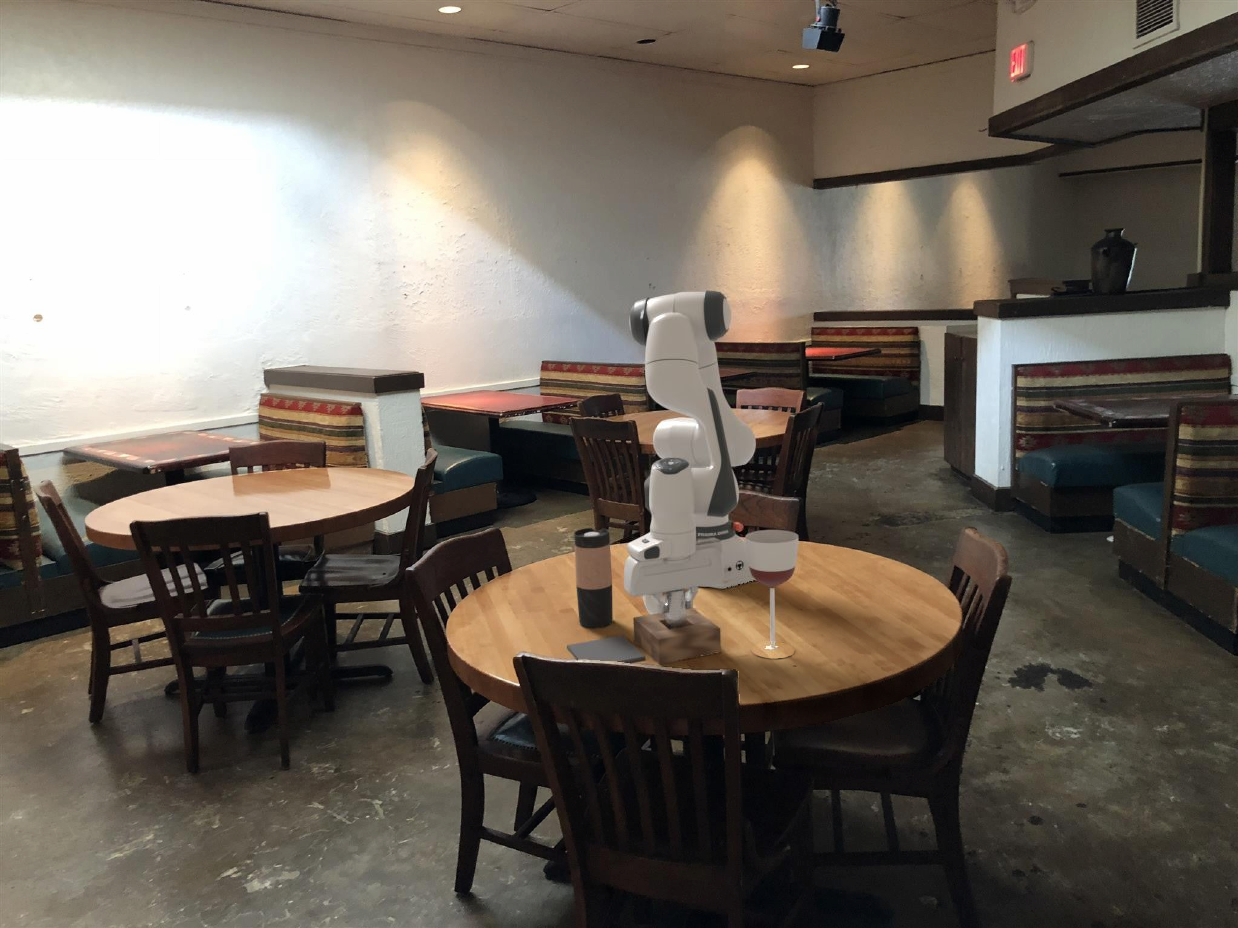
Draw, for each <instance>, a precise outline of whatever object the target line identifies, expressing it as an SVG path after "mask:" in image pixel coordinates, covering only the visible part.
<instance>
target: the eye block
mask: <svg viewBox="0 0 1238 928" xmlns="http://www.w3.org/2000/svg"><path fill="white" fill-rule="evenodd" d="M632 621H633V641H634V642H635V643H636V644H637V645H638V646H639V647H640V648H641V649H642V650H643V651H644V652H645V653H646V654H647V655H648V656H650V658H652V659H653V660H654V661H655V663H657V662H658V663H657V664H658V665H663V664H669V663H673V662H678V661H679V660H680V661H684V660H683V659H685V660H688V659H687V658H690V659H693V658H692V657H695V658H697V657H696V656H700V657H702V656H701V655H706V656H708V655H707V654H711V653H716V652H721V653H722V643H721V641H722V640H721V638H722V637H721V627H719V626H718V625H716V624H715V623H714V622H712V621H711V620H710V619H709V618H708V617H706V616H704V615H703V614H701V613H700V612H699V611H697V609H695V608H694V607H693V608H691V609H686V626H685V627H679V628H674V629H668V628H667V627H666V613H662V614H660V613H657V614H646V615H640V616H635V617H633V618H632ZM716 654H717V653H716ZM711 655H712V654H711ZM680 661H679V662H680Z"/></svg>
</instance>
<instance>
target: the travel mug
mask: <svg viewBox="0 0 1238 928" xmlns="http://www.w3.org/2000/svg"><path fill="white" fill-rule="evenodd" d="M573 536H574V537H573V538H574V542H573V543H574V563H575V565H574V566H575V584H576V585H575V586H576V597H577V598H576V599H577V609H578V620H579V624H580V626H582V627H583V628H588V629H600V628H605V627H609V626H610V625H611V624H612V623H613V618H614V617H613V575H612V574H613V571H612V558H611V556H612V555H611V540H610V539H611V538H610V537H611V536H610V530H608V529H607V528H602V529H599V530H597V529H594V528H591V527H586V528H580V529H578V530H575V532H574V534H573Z"/></svg>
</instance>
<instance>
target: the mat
mask: <svg viewBox="0 0 1238 928" xmlns="http://www.w3.org/2000/svg"><path fill="white" fill-rule="evenodd" d="M566 649H567V650H568V651H569V652H570V654H572V656H573V657H574V658H575V660H577V659H588V660H600V661H617V662H628V663H632V662H637V661H642V660H646V656H645V655H644V654H643V653H642V652H641V651H640V650H639V649H638V648H637V647H636V646H635V645H634V644H633V643H632V642H630V640H628V639H627V638H626V637H625V636H624V634H622V635H616V636H612V637H606V638H599V639H594V640H589V641H583V642H576V643H572V644H567V645H566Z"/></svg>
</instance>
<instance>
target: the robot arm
mask: <svg viewBox="0 0 1238 928" xmlns="http://www.w3.org/2000/svg"><path fill="white" fill-rule="evenodd" d="M628 319H629V322H628V324H629V329H630V331H631V336H632V337H633V340H634V341H635V342H636V343H638V344H639V345H641V346H644V347H645V355H644V357H645V358H644V371H645V372H644V373H645V384H646V389H647V392H648V395H649V396H650V397H651V398H652V400H653V401H655V402H656V404H659V405H660V406H661V407H662V408H665V409H667V410H669V411H672V412H675V413H679V414H681V415H683V416H687V417H682V416H681V417H674V418H668V419H664V420H662V421H660V422H659V423H658V424H657V426H656V427H655V430H654V432H653V434H652V435H653V437H652V443H653V444H652V445H653V449H654V451H655V453H656V454H657V456H658V457H659V458H660V459H659V460H656V461H655V462H653V463H652V465H651V470H650V474H649V476H648V477H647V478H646V479H645V480H644V500H645V501H644V505H645V508H646V509H647V511H648V512H650V514H651V521H650V526H649V530H650V531H649V532H648V533H646V534H645V535H642V536H640V537H637V538H636V539H634V540H632V541H630V542H629V543H627V545H626V550H627V552H628V553H627V554H629V556H628V557H627V558H626V559H625V563H624V569H623V588H624V590H625V592H626V593H627V594H628V595H630V596H631V597H633V598H637V597H643V595H649V594H652V596H653V598H654V599H655V601H656V602H657V603H658V612H659V613H660V614H662V613H667V612H668V604H666V603H665V602H662V601H661V599H660V598H661V597H662V592H668V591H674V590H680V589H686V588H687V589H688V590H689V593H688V595H687V597H686V598H685V600H686V609H691V608H693V609H694V600H695V598H696V596H697V594H698V593H699V587H703V588H704V587H709V588H714V589H722V590H723V589H728V588H732V587H735V586H739V585H738V584H740V585H743V583H744V584H747V582H748V583H750V582H749V581H752V582H754V581H753V580H755V581H757V580H756V579H755V578H753V576H752V575H751V572H750V569H749V564H748V560H747V554H746V543H745V539H743V538H742V537H741V536H739V535H737V534H736V532H737V533H738V532H740V533H741V532H742V531H743V530H744V525H743V524H742V523H740V522H738V521H733V520H731V519H729V514H730V513H732V512H733V511H734V510H735V509H736V508H737V506H738V502H739V496H740V490H739V485H738V481H737V477H736V475H735V473H734V470H733V467H738V466H742V465H743V466H744V465H746V464H747V463H749V461H750V460H751V459H752V457H753V456H754V454H755V452H756V448H757V447H756V446H757V445H756V444H757V442H756V441H757V440H756V436H755V433H754V430H753V429H752V428H751V426H749V425H748V424H747V423H746V422H744V421H743V420H742V419H741V418H739V416H737V414H736V413H735V412H734V411H733V409H732V407H731V406H730V405H729V403H728V401H727V399H726V397H725V395H724V392H723V388H722V382H721V377H720V371H719V364H718V354H717V348H716V344H715V342H716V341H718V340H719V339H721V338H723V337H724V336H725V335H726V334H727V333H728V332H729V329H730V325H731V320H732V311H731V307H730V304H729V302H728V300H727V297H726V296H725V295H724V294H723V292H721V291H716V290H706V291H682V292H681V291H680V292H676V293H671V294H664V295H660V296H655V297H652V298H651V297H644V298H642V299H639V300H636V301H635V302H634V304H633V305H632V306H631V309H630V314H629V318H628ZM731 586H732V587H731ZM727 587H728V588H727Z"/></svg>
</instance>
